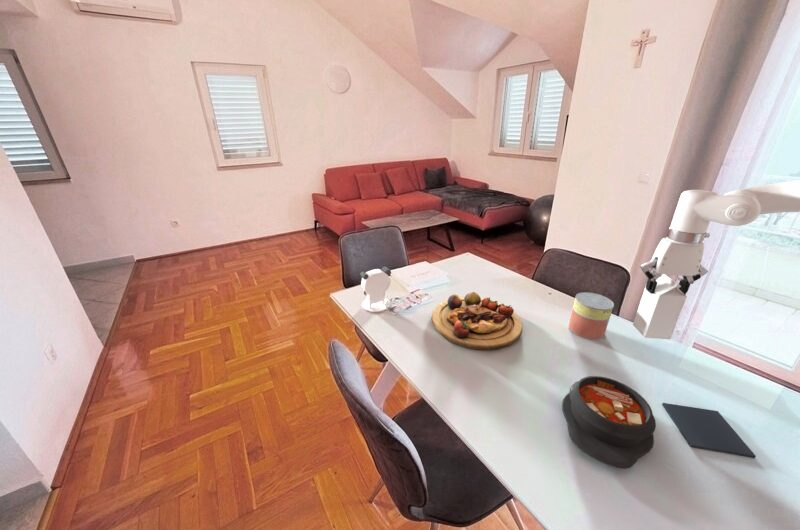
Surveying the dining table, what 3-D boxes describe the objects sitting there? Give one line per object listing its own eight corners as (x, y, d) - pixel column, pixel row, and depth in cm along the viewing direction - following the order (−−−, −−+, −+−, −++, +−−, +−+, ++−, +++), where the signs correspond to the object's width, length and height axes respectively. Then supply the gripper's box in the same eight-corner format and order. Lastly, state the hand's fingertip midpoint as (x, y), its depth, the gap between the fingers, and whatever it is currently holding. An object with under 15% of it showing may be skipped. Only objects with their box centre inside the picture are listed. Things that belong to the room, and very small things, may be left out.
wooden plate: (483, 366, 93) (486, 343, 90) (413, 319, 116) (413, 300, 113) (539, 326, 112) (543, 306, 108) (469, 292, 134) (471, 275, 131)
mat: (716, 412, 78) (717, 410, 78) (755, 458, 67) (756, 456, 67) (661, 404, 80) (662, 402, 80) (690, 446, 70) (691, 445, 69)
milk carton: (644, 338, 96) (663, 282, 89) (632, 325, 102) (649, 272, 95) (670, 340, 95) (692, 284, 87) (656, 326, 101) (676, 273, 94)
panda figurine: (383, 294, 133) (382, 262, 127) (396, 306, 124) (396, 272, 118) (357, 301, 128) (355, 268, 122) (369, 315, 119) (367, 279, 113)
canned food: (607, 343, 103) (617, 312, 98) (569, 335, 107) (577, 305, 102) (601, 324, 113) (610, 295, 108) (566, 318, 117) (574, 289, 112)
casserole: (571, 377, 89) (578, 353, 86) (652, 410, 79) (664, 385, 75) (548, 440, 71) (555, 414, 68) (649, 495, 61) (663, 466, 57)
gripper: (713, 233, 88) (691, 289, 95) (642, 230, 91) (626, 284, 98) (732, 242, 81) (707, 301, 88) (656, 238, 85) (637, 296, 92)
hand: (664, 292), depth 93 cm, fingers closed on milk carton, 7 cm apart
